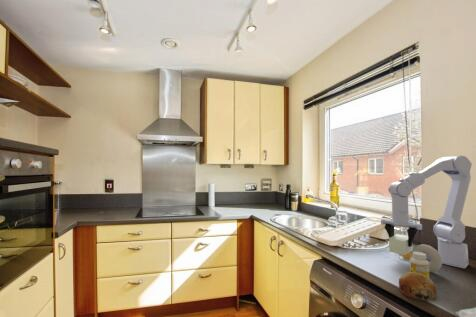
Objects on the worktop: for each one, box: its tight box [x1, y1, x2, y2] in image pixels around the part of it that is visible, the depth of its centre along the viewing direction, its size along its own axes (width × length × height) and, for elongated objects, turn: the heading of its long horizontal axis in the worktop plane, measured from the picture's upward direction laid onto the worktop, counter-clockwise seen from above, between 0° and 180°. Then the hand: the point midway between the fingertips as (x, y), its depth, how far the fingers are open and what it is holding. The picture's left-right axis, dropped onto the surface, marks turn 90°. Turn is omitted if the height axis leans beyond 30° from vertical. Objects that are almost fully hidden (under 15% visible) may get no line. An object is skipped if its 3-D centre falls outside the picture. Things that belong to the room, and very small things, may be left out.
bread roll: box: [398, 271, 438, 301], centre depth 82 cm, size 10×10×8 cm
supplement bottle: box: [409, 252, 430, 279], centre depth 90 cm, size 5×5×10 cm
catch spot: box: [398, 255, 412, 262], centre depth 112 cm, size 6×6×1 cm
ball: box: [400, 252, 412, 259], centre depth 112 cm, size 4×4×4 cm
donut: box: [412, 243, 443, 273], centre depth 99 cm, size 10×4×10 cm, turn 31°
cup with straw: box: [394, 225, 409, 236], centre depth 124 cm, size 8×9×20 cm
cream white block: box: [388, 234, 414, 255], centre depth 107 cm, size 9×6×5 cm, turn 131°
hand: (401, 244), depth 107 cm, fingers closed on cream white block, 6 cm apart
